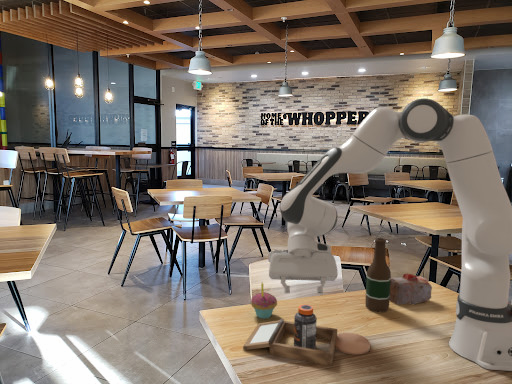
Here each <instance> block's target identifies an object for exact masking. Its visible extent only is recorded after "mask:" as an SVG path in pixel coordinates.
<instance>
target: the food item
mask: <svg viewBox="0 0 512 384" xmlns="http://www.w3.org/2000/svg"><path fill="white" fill-rule="evenodd" d="M432 289H433V287H432V285H431V284H430V282H429V281H428V280H427V278H425V277H423V276H420V275H418V276H417V275H414V274H413V273H412V274H411V273H404V274H403V275H402V277H391V283H390V301H389V302H392V303H394V304H395V305H404V304H405V305H406V304H409V305H412V304H414V305H417V304H419V303H424V302H425V303H426V302H428V301H430V299H431V298H432V291H433V290H432Z"/></svg>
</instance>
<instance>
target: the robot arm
mask: <svg viewBox="0 0 512 384" xmlns="http://www.w3.org/2000/svg"><path fill="white" fill-rule="evenodd" d="M402 139H404V140H408V141H411V142H415V143H418V144H419V143H422V144H423V143H428V142H435V143H437V144H438V146H439V147H440V148H441V151H442V153H443V158H444V162H445V165H446V168H447V172H448V176H449V179H450V182H451V186H452V189H453V190H452V191H453V193H454V196H455V198H456V201H457V204H458V208H459V211H460V214H461V217H462V221H461V222H462V223H461V271H460V274H461V275H460V285H459V294H458V295H457V300H456V304H455V305H456V306H455V316H456V320H455V324H454V327H453V328H454V329H453V331H452V334H451V337H450V339H449V340H448V346H449V347H450V349H451V350H453V352H455V353H456V354H458V355H459V356H461V357H462V358H464V359H467V360H470V361H472V362H473V363H476V364H477V365H478V366H480V367H482V368H483V369H486V370H490V371H491V370H495V371H507V372H512V304H511V303H510V302H509V296H510V295H509V294H510V283H511V271H510V259H509V255H511V254H512V203H511V201H510V198H509V196H508V193H507V191H506V188H505V185H504V183H503V181H502V177H501V173H500V171H499V167H498V164H497V160H496V157H495V153H494V149H493V146H492V144H491V140H490V138H489V136H488V133H487V132H486V129H485V127H484V125H483V124H482V122H481V120H480V119H479V118H478V117H477V116H476V115H472V114H466V113H465V114H458V115H454V116H453V114H452V113H451V112H450V111H448V110H447V109H446V108H445V107H443V106H442V104H441V103H439V102H437V101H435V100H433V99H430V98H418V99H415V100H413V101H411V102H409V103H408V104H407V105H405V107H404V108H403V109H402V111H395V110H394V109H392V108H389V107H384V106H378V107H375V108H374V109H372V110H371V111H370V112H369V113H368V114H367V115H366V116H365V118H364V119H363V120H362V121H361V122H360V123H359V125H358V126H357V127H356V129H354V131H353V132H352V135H351V136H350V137H349V138H348V139H347V140H346V141H344V143H343V144H341V145H339V146H337V147H332V148H330V149H329V150H327V151H326V152H325V154H324V155H322V157H320V158H319V159H318V160H317V162H315V164H314V165H313V166H312V167H311V168H310V169H309V170H308V171H307V173H306V174H305V175H303V177H302V178H301V179H300V181H298V182H297V184H296V185H294V187H292V188H291V189H290V190H289V191H287V193H284V195H283V197H282V198H281V201H280V204H279V211H280V214H281V217H282V218H283V221H285V222H286V223H287V225H286V226H287V230H286V231H287V233H288V239H287V249H279V250H278V249H273V250H271V251H270V252H268V256H267V257H268V258H267V259H268V262H269V268H268V269H269V270H268V277H269V279H270V280H277V281H278V280H280V284H281V286H282V288H284V294H290V293H291V292H290V291H291V286H290V285H287V283H286V281H309V282H310V281H314V282H315V281H317V282H319V284H320V285H319V286H317V288H316V294H317V295H324V294H323V293H324V287H325V285H326V283H327V282H335V281H336V279H338V274H339V272H338V265H337V262H336V258H335V256H334V255H333V254H332V247H331V245H329V244H326V243H324V242H323V243H322V242H319V241H316V238H317V237H322V236H324V235H326V234H328V233H330V232H331V231H333V230H334V229H335V228H336V227H337V222H338V216H339V215H338V210H337V209H336V206H335V205H333V204H331V203H329V202H327V201H324V200H323V199H320V198H318V197H315V196H313V194H314V193H315V192H316V191H317V190H318V189H319V188H320V187H321V186H322V185H323V184H324V183H325V181H326V180H328V178H330V177H332V176H334V175H336V174H356V175H358V174H366V173H369V172H372V171H373V170H375V168H377V167H378V166H379V164H380V163H381V162H382V161H383V159H384V158H385V156H386V155H387V154H388V153H389V151H390V149H391V148H392V147H393V146H394V145H395V143H396V142H398V141H399V140H402Z"/></svg>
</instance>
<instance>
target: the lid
mask: <svg viewBox="0 0 512 384" xmlns="http://www.w3.org/2000/svg"><path fill="white" fill-rule="evenodd" d="M279 321H280V319H279V320H273V321H268V322H267V321H265V322H260V323H257V325H256V326H255V328H254V329H253V330H252V332H251V333H250V335H249V337H248V339H247V338H246V339H247V340H246V341H245V342H244V344H243V345H242V350H243V351H248V350H255V349H262V348H270V343H269V342H268V341H269V339H270V337H271V335H272V334H273V332H274V330H275V328H276V326H277V325H278V323H279Z"/></svg>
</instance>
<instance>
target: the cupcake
mask: <svg viewBox="0 0 512 384" xmlns="http://www.w3.org/2000/svg"><path fill="white" fill-rule="evenodd" d="M260 289H261V292H259V293H256V294H254V295H253V296H252V297H251V299H250V305H251V307H252V308H253V309H254V311H255V314H256V317H258V318H259V319H265V320H266V319H269V318H270V317H272V314H273V311H274V310H275V308H276V307H277V305H278V300H277V298H276V297H275V295H273V294H271V293H268V292H264V283H263V282H261V286H260Z"/></svg>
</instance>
